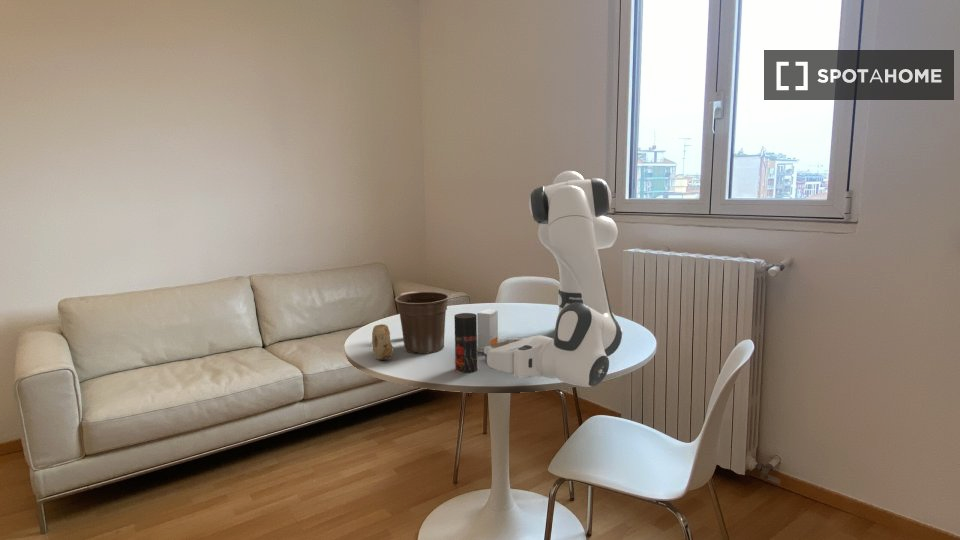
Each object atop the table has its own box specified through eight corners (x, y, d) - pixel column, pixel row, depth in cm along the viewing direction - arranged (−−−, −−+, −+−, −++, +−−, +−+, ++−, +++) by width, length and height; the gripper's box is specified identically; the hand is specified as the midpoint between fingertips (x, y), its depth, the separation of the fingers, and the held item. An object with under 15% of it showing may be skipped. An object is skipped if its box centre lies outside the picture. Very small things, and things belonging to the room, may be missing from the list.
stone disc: (370, 355, 161) (368, 322, 159) (382, 353, 163) (380, 320, 161) (381, 365, 152) (380, 330, 150) (394, 362, 154) (392, 328, 152)
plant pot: (413, 360, 156) (411, 305, 153) (387, 347, 169) (385, 296, 166) (460, 349, 165) (459, 297, 163) (432, 337, 178) (431, 289, 176)
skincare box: (489, 353, 161) (489, 314, 159) (477, 351, 163) (476, 312, 161) (498, 348, 166) (498, 309, 164) (486, 346, 168) (485, 308, 166)
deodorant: (480, 371, 146) (479, 316, 143) (459, 374, 143) (458, 319, 141) (472, 364, 151) (471, 312, 149) (452, 367, 149) (451, 314, 146)
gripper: (568, 334, 135) (524, 325, 144) (514, 352, 120) (470, 341, 130) (567, 359, 135) (524, 348, 145) (514, 380, 121) (470, 366, 130)
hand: (498, 345), depth 137 cm, fingers open, 8 cm apart
